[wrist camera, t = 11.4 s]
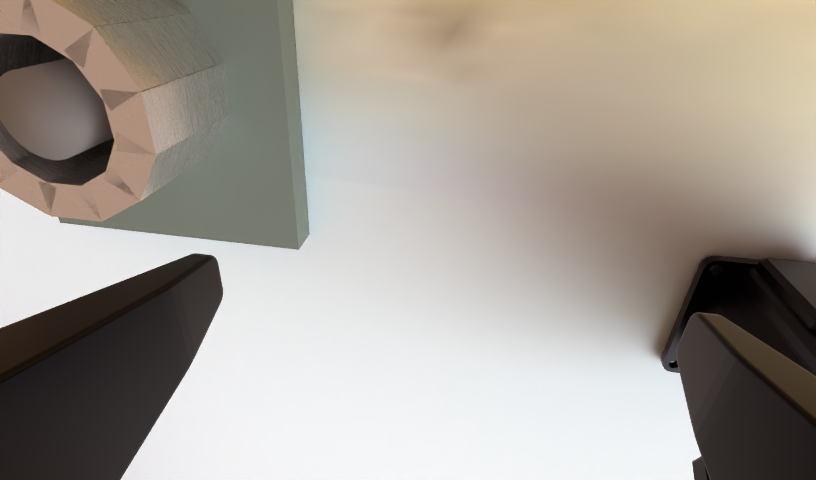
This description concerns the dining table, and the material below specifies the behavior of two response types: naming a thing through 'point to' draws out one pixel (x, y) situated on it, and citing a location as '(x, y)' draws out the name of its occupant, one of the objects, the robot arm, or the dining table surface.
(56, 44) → the tan faceted hollow ring
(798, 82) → the dining table surface
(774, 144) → the dining table surface
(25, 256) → the dining table surface
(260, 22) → the post stand
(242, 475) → the dining table surface
